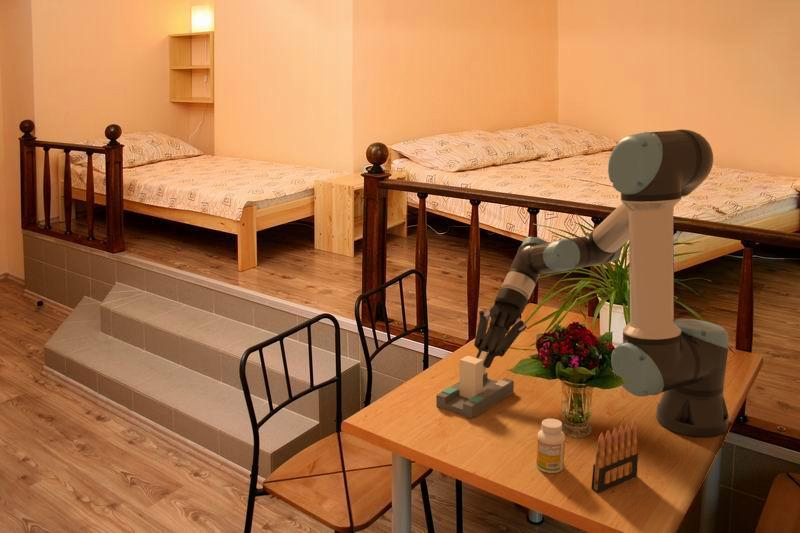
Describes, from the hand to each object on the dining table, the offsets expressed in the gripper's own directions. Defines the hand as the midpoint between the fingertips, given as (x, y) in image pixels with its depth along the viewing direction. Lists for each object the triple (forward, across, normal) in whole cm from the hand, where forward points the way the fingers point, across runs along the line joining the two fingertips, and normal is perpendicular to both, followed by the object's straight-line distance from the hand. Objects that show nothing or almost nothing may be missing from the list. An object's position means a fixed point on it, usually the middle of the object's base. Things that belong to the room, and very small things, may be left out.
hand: (475, 377), depth 184 cm
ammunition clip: (+14, -42, +7) cm, 45 cm away
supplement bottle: (+16, -30, +8) cm, 35 cm away
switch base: (+4, -1, -3) cm, 5 cm away
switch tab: (+5, -1, 0) cm, 5 cm away
